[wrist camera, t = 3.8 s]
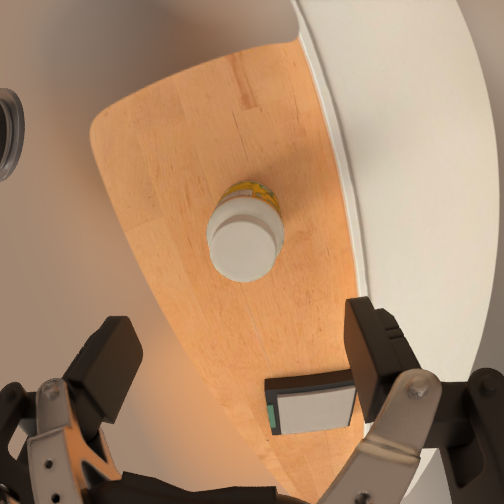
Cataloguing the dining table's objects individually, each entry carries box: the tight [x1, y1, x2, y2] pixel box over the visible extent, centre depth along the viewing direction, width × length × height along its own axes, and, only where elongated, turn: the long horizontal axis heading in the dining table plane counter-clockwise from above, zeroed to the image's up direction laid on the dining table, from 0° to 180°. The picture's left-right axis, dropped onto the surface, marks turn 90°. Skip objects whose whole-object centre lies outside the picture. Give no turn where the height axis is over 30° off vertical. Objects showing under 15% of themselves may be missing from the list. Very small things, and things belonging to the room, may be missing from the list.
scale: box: [265, 369, 357, 435], centre depth 35 cm, size 12×12×3 cm
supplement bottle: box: [206, 181, 284, 282], centre depth 21 cm, size 5×5×10 cm
